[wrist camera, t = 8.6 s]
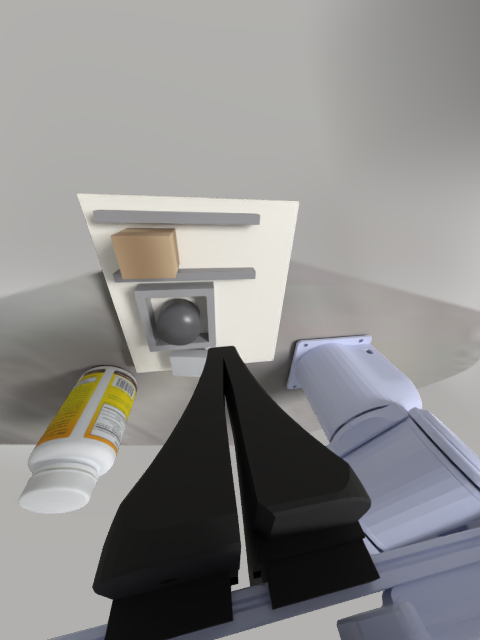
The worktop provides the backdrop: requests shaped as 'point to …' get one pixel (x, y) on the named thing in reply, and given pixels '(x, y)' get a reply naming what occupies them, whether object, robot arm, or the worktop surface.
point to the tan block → (146, 252)
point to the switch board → (200, 270)
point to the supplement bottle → (80, 442)
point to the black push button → (179, 322)
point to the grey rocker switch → (188, 362)
